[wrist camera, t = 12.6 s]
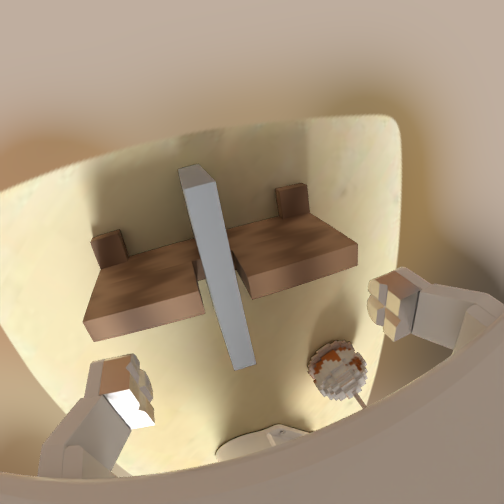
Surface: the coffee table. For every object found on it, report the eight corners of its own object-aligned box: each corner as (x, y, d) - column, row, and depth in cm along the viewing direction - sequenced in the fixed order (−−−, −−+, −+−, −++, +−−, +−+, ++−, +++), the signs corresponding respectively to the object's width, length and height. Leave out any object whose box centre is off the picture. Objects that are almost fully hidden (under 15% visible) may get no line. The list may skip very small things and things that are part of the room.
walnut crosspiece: (301, 182, 30) (356, 208, 21) (308, 250, 34) (356, 294, 25) (92, 237, 26) (65, 287, 17) (119, 304, 30) (110, 368, 21)
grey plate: (177, 169, 26) (183, 189, 17) (198, 163, 27) (215, 181, 18) (214, 308, 33) (234, 370, 24) (231, 304, 34) (256, 363, 25)
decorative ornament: (355, 354, 45) (406, 418, 31) (316, 382, 45) (360, 451, 31) (342, 329, 41) (401, 400, 28) (298, 359, 41) (346, 439, 28)
